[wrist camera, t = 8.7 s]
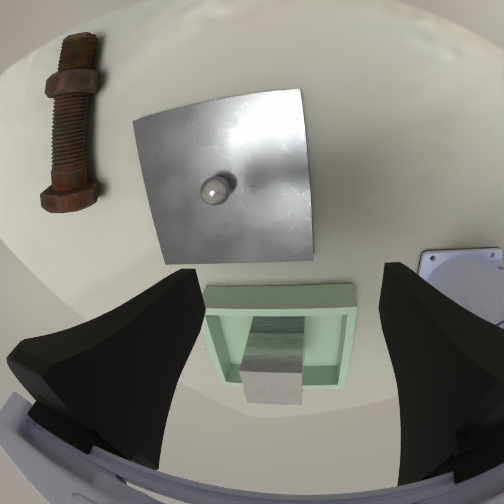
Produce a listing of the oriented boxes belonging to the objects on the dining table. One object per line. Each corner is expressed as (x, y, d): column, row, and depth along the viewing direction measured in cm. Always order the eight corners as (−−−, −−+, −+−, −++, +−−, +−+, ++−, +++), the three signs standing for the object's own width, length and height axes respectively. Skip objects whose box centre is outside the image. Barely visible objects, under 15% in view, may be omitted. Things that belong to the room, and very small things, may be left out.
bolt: (113, 41, 16) (101, 192, 23) (64, 47, 15) (56, 196, 21) (103, 22, 12) (90, 213, 18) (44, 33, 10) (36, 217, 16)
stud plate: (300, 90, 15) (299, 84, 13) (313, 254, 21) (313, 276, 18) (139, 120, 18) (114, 123, 15) (170, 258, 23) (153, 278, 20)
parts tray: (352, 283, 21) (357, 306, 19) (342, 364, 26) (344, 388, 23) (206, 286, 24) (194, 307, 21) (227, 363, 28) (220, 385, 26)
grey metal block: (304, 348, 25) (301, 404, 19) (259, 348, 26) (247, 402, 20) (304, 314, 23) (301, 373, 17) (254, 314, 24) (238, 370, 18)
